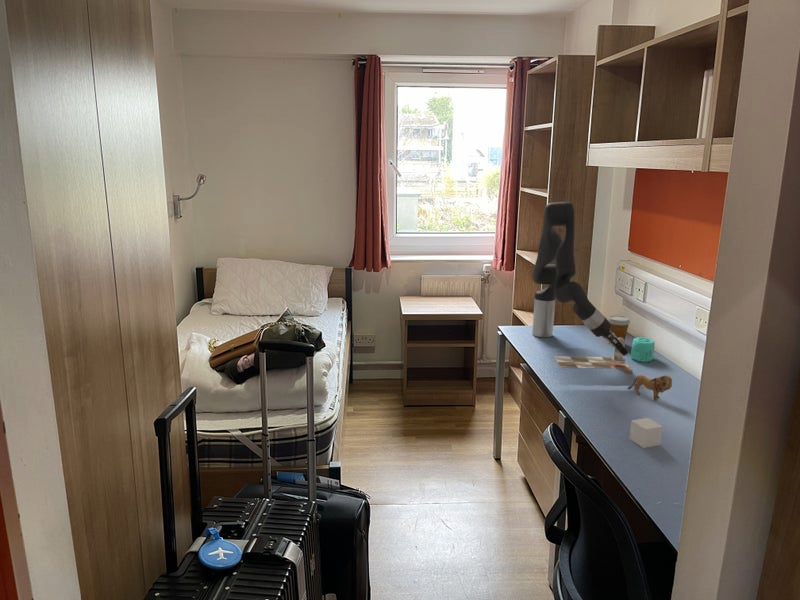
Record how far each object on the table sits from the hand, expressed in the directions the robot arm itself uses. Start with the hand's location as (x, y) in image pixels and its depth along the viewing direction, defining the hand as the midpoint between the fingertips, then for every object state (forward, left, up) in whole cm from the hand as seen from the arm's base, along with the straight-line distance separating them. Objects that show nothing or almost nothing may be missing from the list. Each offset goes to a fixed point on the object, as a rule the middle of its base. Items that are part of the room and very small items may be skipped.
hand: (624, 352), depth 229 cm
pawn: (0, -2, -4) cm, 5 cm away
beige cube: (+60, -15, -7) cm, 62 cm away
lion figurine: (+26, 0, -7) cm, 27 cm away
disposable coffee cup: (-31, +8, -7) cm, 33 cm away
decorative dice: (-12, +12, -7) cm, 19 cm away
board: (-3, -12, -7) cm, 14 cm away
